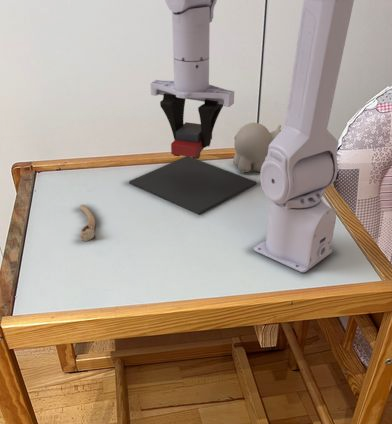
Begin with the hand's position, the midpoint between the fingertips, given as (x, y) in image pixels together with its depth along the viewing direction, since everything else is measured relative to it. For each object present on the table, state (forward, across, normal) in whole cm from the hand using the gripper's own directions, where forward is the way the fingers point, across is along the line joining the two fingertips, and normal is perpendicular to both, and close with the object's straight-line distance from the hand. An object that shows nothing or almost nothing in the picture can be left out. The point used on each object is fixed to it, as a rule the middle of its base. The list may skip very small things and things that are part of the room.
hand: (192, 142), depth 92 cm
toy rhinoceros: (+8, +9, +14) cm, 19 cm away
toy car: (-1, -2, 0) cm, 2 cm away
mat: (+8, 0, +1) cm, 8 cm away
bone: (+9, -10, -20) cm, 24 cm away
